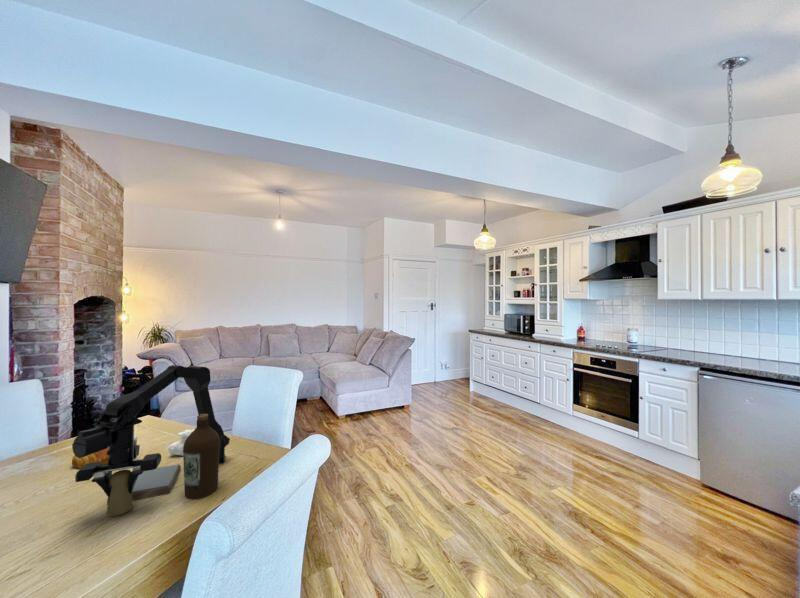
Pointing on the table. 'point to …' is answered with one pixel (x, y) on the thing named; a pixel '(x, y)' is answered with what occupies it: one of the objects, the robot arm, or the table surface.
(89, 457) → the croissant
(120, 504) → the brown rounded upright piece
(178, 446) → the bust
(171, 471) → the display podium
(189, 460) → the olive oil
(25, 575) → the table surface
